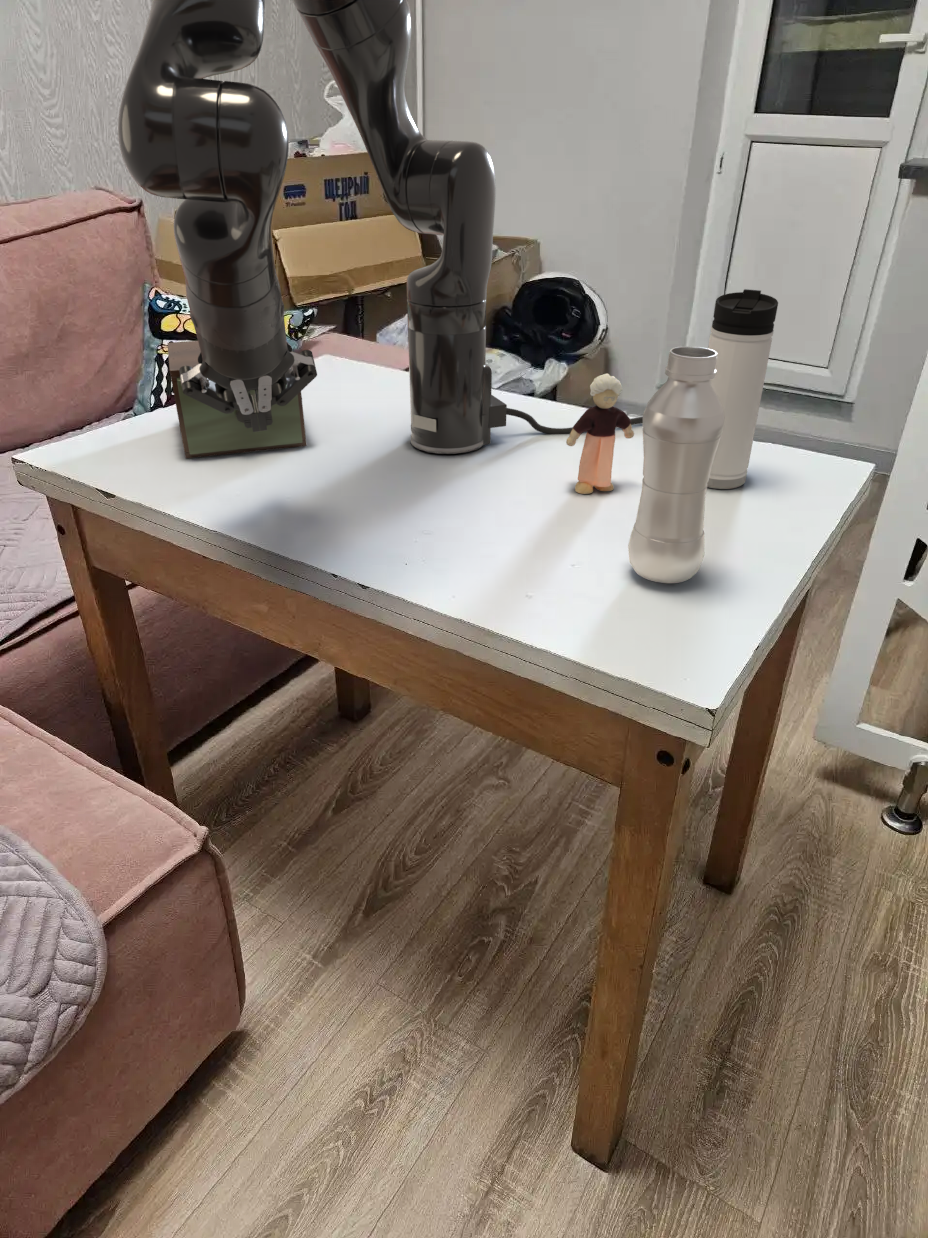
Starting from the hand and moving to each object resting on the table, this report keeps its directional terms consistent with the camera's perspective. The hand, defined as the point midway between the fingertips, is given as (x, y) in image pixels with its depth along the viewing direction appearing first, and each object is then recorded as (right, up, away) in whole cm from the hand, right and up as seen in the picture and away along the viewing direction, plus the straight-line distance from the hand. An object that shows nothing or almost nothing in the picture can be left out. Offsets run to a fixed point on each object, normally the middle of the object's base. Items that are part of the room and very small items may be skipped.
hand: (258, 423), depth 87 cm
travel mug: (+50, -4, +10) cm, 51 cm away
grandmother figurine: (+36, -6, +8) cm, 37 cm away
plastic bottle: (+39, -16, -10) cm, 44 cm away
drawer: (-7, +3, +20) cm, 22 cm away
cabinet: (-8, +4, +22) cm, 24 cm away
